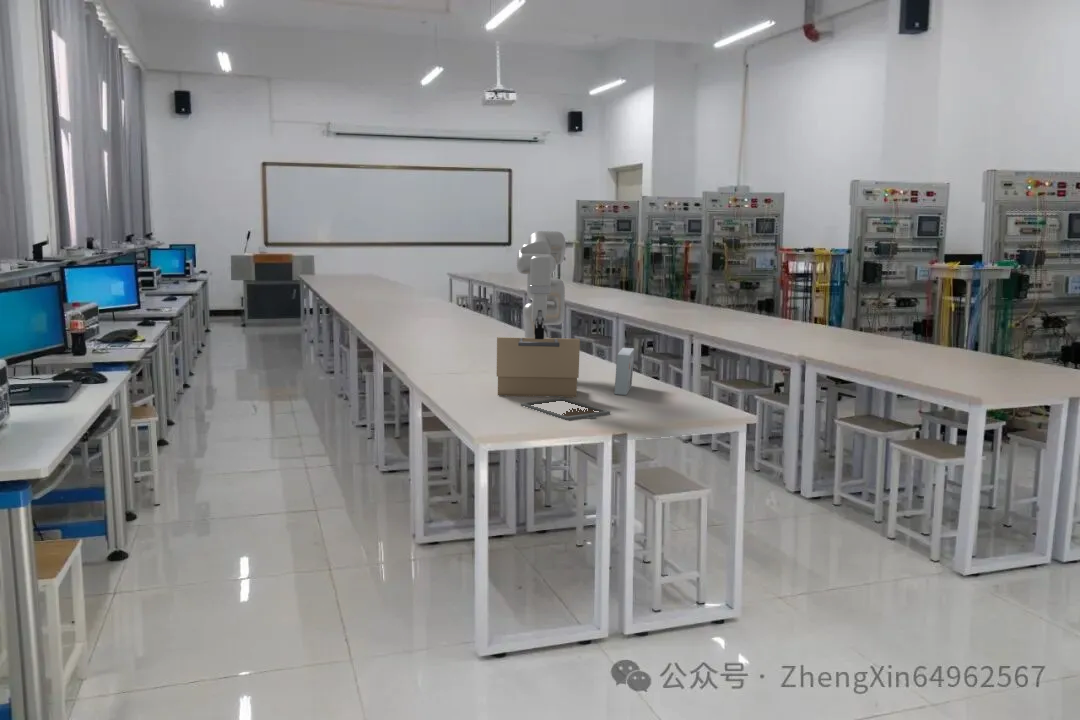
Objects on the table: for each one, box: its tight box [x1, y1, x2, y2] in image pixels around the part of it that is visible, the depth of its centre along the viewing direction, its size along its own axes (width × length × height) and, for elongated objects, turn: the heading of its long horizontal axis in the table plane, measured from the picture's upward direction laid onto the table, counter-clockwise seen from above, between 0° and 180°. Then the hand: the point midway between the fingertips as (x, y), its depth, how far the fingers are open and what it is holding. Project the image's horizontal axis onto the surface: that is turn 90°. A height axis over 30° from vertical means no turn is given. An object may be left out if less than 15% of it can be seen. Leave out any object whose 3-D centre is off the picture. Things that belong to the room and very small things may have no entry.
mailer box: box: [497, 376, 578, 398], centre depth 332 cm, size 14×30×8 cm, turn 91°
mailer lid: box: [496, 336, 581, 379], centre depth 318 cm, size 15×31×9 cm
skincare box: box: [613, 347, 635, 396], centre depth 341 cm, size 21×6×16 cm, turn 168°
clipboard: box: [520, 397, 611, 421], centre depth 302 cm, size 19×2×30 cm
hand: (539, 336), depth 313 cm, fingers open, 9 cm apart
